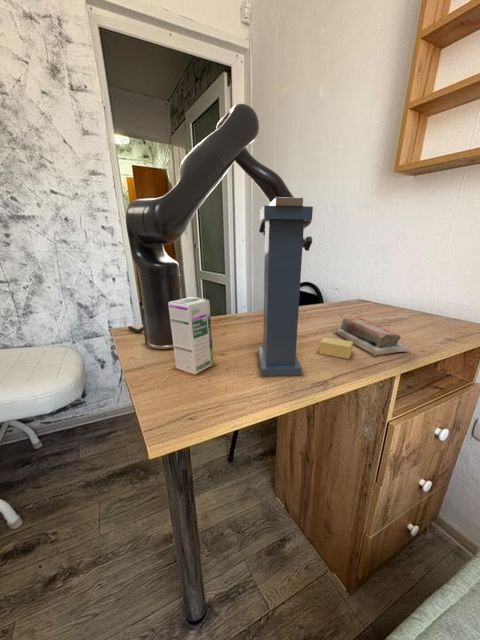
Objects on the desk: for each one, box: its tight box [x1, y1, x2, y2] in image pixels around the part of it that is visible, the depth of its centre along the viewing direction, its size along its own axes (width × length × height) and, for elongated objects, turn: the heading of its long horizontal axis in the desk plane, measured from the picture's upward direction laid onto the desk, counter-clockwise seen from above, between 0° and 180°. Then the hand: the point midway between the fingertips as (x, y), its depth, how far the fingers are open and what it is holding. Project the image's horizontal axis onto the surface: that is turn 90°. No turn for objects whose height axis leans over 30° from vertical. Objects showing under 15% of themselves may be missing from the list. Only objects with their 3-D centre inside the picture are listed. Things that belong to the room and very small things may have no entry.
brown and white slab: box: [268, 197, 304, 206], centre depth 58 cm, size 4×24×2 cm, turn 4°
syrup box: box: [168, 296, 215, 376], centre depth 60 cm, size 6×6×14 cm
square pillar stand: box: [257, 205, 314, 377], centre depth 59 cm, size 8×12×31 cm, turn 4°
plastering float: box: [335, 316, 409, 357], centre depth 78 cm, size 18×5×10 cm
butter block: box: [318, 336, 354, 360], centre depth 70 cm, size 7×4×3 cm, turn 64°
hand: (282, 240), depth 73 cm, fingers open, 8 cm apart
